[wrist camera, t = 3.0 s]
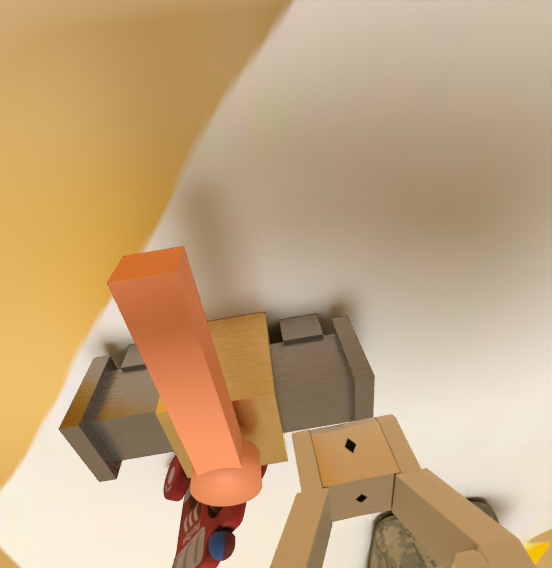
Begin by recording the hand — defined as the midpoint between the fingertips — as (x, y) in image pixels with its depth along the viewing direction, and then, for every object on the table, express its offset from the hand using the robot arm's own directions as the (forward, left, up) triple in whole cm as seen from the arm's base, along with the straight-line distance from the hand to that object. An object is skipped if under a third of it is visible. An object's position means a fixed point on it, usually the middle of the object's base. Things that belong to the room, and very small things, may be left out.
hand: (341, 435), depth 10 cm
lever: (+6, +4, -7) cm, 10 cm away
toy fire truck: (+10, +23, -16) cm, 30 cm away
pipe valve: (+6, +10, -16) cm, 19 cm away
